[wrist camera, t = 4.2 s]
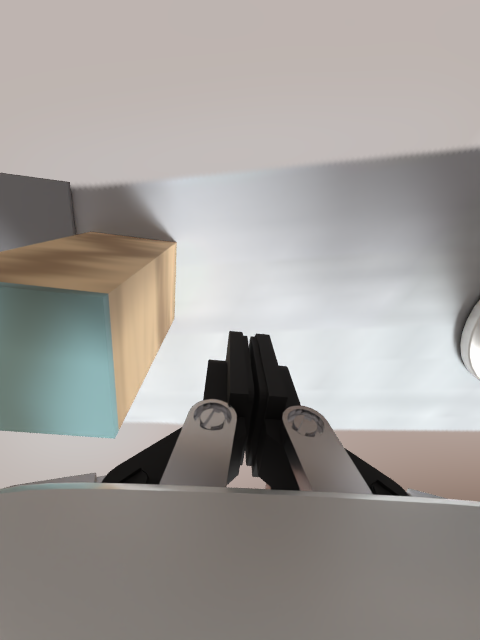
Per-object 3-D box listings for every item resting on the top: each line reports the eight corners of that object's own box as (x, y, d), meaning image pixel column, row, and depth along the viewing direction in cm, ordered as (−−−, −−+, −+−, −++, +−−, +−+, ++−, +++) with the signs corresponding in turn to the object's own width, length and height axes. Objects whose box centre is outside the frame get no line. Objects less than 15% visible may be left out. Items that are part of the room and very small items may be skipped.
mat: (69, 182, 18) (67, 181, 17) (88, 342, 22) (86, 344, 22) (-96, 159, 17) (-102, 159, 17) (-40, 330, 22) (-44, 332, 21)
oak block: (176, 242, 19) (103, 297, 8) (174, 318, 22) (114, 438, 11) (90, 231, 19) (-106, 275, 8) (97, 310, 21) (-45, 427, 10)
